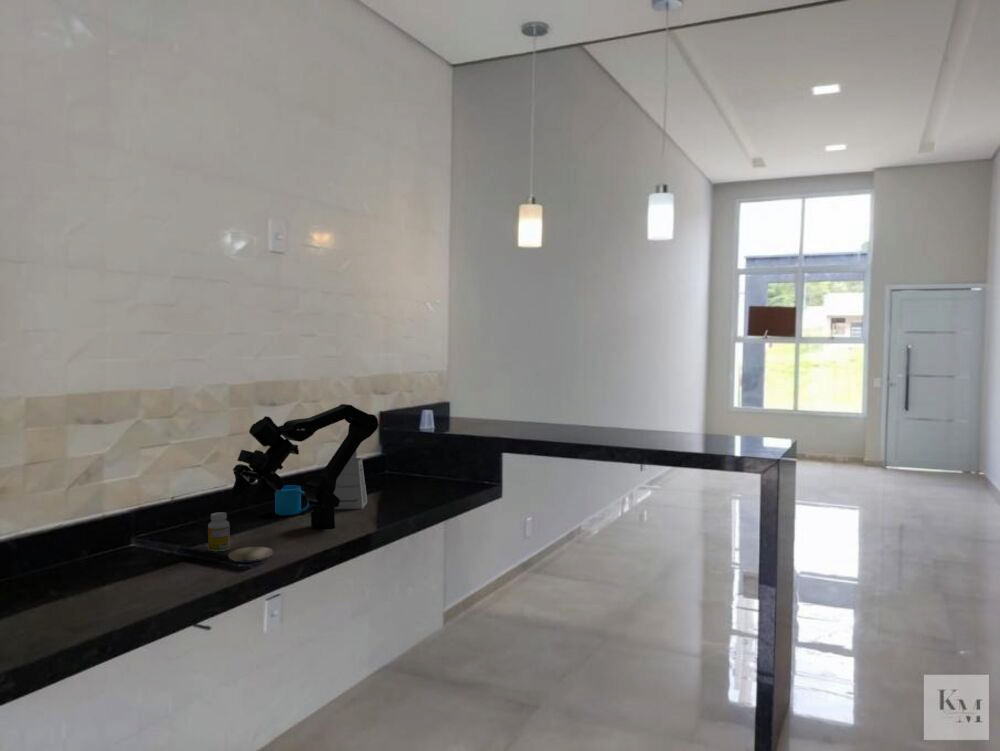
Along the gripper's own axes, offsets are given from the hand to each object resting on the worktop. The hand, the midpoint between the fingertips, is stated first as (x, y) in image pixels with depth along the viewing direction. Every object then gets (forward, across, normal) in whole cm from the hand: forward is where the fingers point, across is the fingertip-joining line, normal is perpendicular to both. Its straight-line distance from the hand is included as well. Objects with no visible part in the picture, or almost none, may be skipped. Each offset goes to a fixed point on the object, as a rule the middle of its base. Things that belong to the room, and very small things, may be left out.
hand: (238, 501), depth 199 cm
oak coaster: (+11, +12, +6) cm, 18 cm away
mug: (-14, -22, +31) cm, 40 cm away
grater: (-27, -17, +44) cm, 54 cm away
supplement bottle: (+13, 0, +5) cm, 14 cm away
